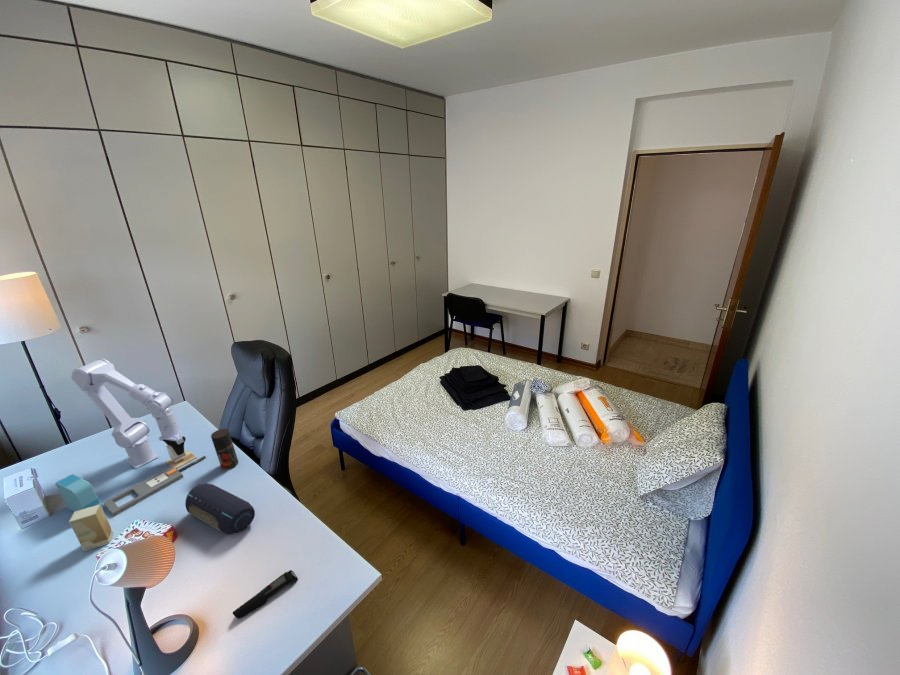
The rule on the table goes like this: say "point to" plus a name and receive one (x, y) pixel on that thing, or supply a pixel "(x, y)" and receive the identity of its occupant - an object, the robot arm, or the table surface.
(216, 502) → the portable speaker
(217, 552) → the table surface
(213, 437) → the deodorant
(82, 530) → the skincare box
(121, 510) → the power strip
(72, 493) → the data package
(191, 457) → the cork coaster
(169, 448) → the charger plug
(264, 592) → the electric trimmer
